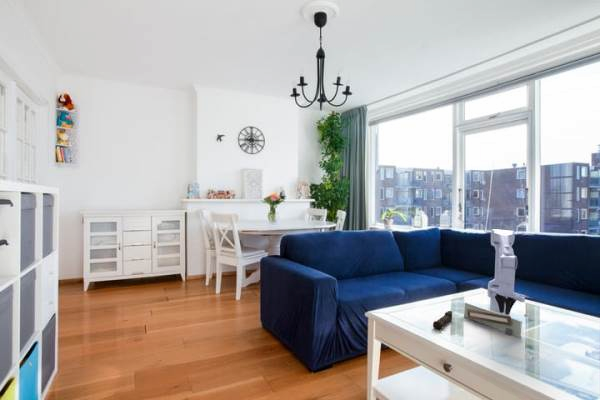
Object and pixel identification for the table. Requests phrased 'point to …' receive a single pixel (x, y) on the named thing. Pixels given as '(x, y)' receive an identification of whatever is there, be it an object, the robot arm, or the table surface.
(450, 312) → the dark brown bar
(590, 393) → the table surface
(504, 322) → the grooved wooden rail
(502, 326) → the wall panel
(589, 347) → the table surface
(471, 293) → the table surface
